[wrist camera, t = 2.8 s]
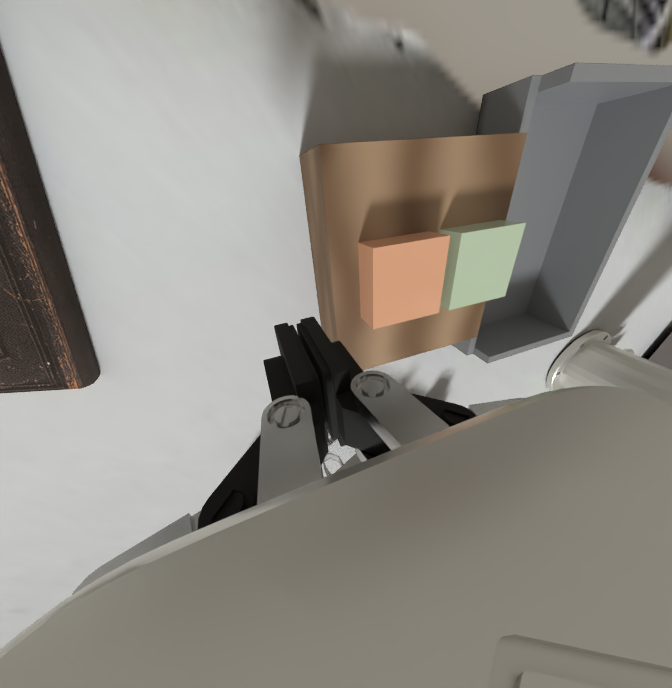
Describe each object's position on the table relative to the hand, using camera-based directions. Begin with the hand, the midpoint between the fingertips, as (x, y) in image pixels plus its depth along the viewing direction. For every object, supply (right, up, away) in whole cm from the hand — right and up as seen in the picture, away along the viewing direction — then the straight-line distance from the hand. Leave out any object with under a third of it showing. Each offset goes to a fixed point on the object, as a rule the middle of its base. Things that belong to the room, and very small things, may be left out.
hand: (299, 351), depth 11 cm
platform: (+7, +8, +13) cm, 17 cm away
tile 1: (+12, +7, +10) cm, 17 cm away
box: (+20, +12, +16) cm, 28 cm away
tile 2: (+6, +5, +8) cm, 11 cm away
